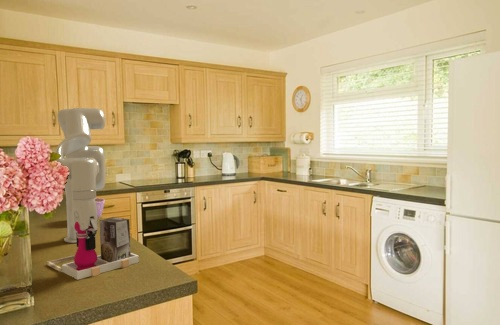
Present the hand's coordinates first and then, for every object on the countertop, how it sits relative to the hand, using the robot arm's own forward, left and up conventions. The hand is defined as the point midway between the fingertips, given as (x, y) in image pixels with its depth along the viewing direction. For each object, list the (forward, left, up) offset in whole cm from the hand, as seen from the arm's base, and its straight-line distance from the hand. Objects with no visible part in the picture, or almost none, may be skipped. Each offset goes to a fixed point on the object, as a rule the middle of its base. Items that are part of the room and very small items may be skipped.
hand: (86, 247), depth 128 cm
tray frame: (-12, 0, -8) cm, 15 cm away
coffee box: (0, +11, -9) cm, 14 cm away
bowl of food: (-80, +38, -9) cm, 89 cm away
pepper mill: (+1, 0, -8) cm, 8 cm away
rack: (0, +6, -8) cm, 10 cm away
